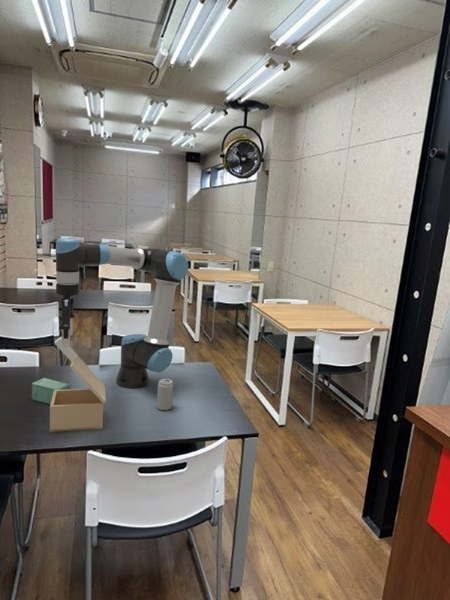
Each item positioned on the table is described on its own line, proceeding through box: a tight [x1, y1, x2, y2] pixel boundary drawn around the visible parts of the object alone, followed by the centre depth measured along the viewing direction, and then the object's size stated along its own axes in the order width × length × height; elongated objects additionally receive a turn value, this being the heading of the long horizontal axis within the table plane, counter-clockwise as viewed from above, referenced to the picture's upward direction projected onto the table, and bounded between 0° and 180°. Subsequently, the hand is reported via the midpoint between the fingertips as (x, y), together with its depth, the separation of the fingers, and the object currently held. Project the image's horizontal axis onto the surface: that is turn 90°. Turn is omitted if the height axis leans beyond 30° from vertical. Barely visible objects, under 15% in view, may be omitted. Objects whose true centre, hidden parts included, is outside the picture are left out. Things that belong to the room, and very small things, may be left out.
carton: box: [49, 388, 104, 434], centre depth 151 cm, size 18×14×10 cm
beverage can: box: [156, 378, 174, 411], centre depth 168 cm, size 6×6×12 cm
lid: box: [54, 336, 107, 404], centre depth 148 cm, size 27×14×2 cm
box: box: [30, 377, 71, 405], centre depth 166 cm, size 7×14×8 cm, turn 73°
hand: (67, 340), depth 145 cm, fingers open, 13 cm apart
